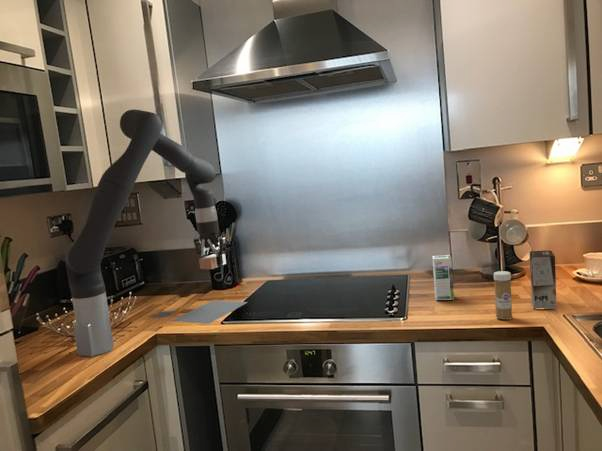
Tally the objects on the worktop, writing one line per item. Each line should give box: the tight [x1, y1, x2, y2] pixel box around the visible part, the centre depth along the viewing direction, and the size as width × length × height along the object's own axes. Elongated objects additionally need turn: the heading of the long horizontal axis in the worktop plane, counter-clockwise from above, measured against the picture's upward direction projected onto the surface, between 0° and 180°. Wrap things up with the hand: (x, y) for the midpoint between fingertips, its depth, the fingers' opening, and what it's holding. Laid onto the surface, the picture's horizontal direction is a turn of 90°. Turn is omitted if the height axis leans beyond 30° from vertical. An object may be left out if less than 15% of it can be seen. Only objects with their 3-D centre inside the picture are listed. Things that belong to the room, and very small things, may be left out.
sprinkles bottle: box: [493, 270, 513, 320], centre depth 145 cm, size 5×5×13 cm
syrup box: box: [431, 254, 455, 301], centre depth 169 cm, size 6×6×14 cm
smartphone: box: [151, 310, 177, 319], centre depth 178 cm, size 7×1×15 cm
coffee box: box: [529, 250, 557, 310], centre depth 152 cm, size 9×6×16 cm
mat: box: [171, 300, 248, 325], centre depth 180 cm, size 24×16×1 cm, turn 154°
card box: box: [198, 253, 227, 270], centre depth 183 cm, size 8×6×4 cm
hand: (213, 265), depth 184 cm, fingers closed on card box, 5 cm apart
